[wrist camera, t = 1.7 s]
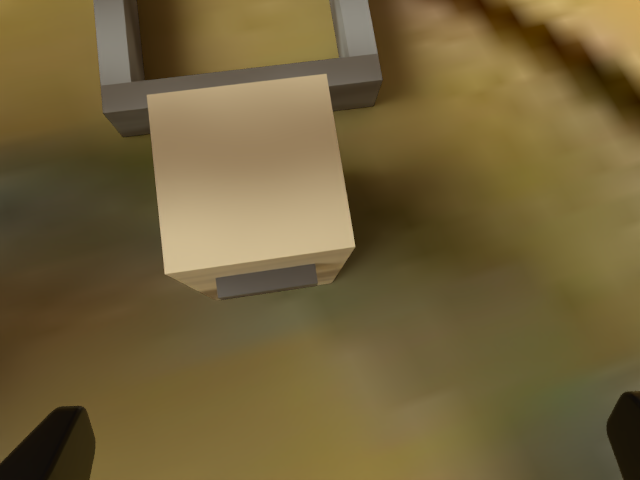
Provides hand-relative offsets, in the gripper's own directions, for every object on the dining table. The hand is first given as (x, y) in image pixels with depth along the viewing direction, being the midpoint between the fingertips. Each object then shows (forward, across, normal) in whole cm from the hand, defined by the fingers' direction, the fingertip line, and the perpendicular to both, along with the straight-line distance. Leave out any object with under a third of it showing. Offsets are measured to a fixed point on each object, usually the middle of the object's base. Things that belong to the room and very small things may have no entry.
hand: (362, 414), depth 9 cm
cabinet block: (+14, +2, +5) cm, 15 cm away
